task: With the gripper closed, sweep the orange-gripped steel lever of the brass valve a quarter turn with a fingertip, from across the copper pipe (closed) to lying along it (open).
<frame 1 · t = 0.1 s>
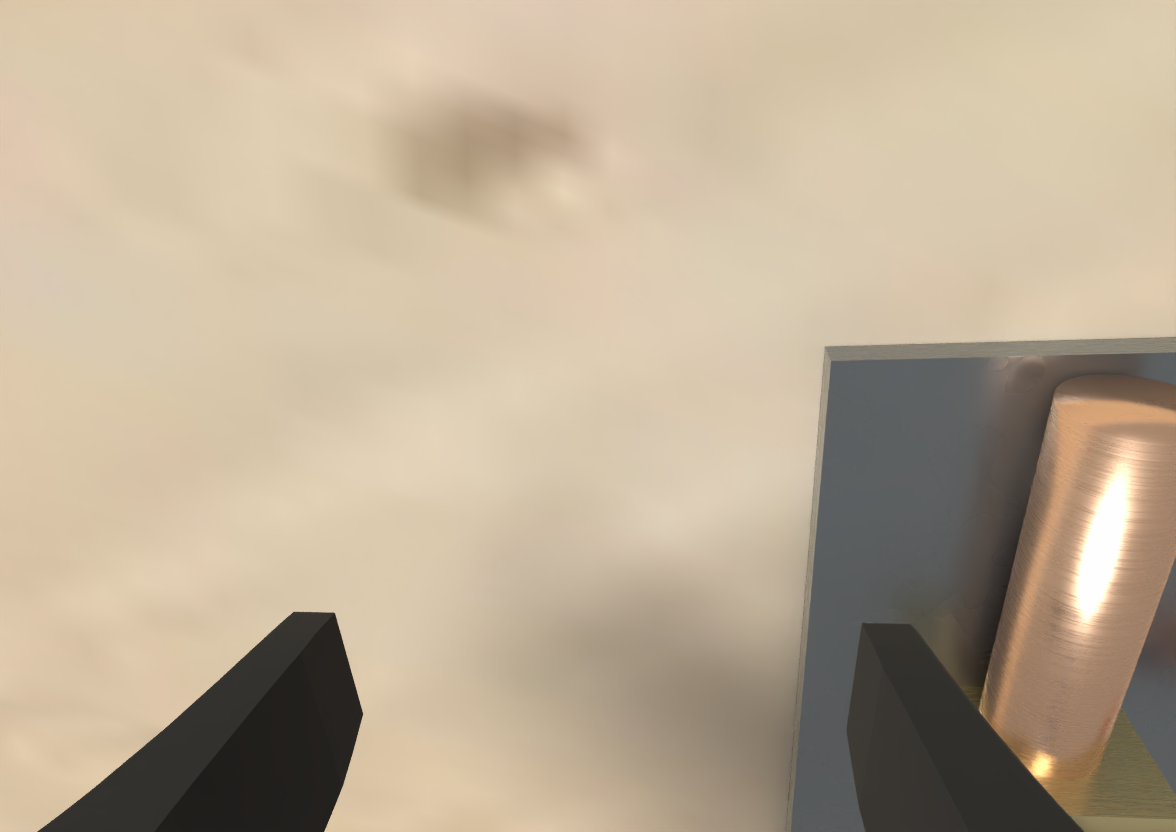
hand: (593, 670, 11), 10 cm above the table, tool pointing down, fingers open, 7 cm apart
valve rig: (992, 724, 25), on the table
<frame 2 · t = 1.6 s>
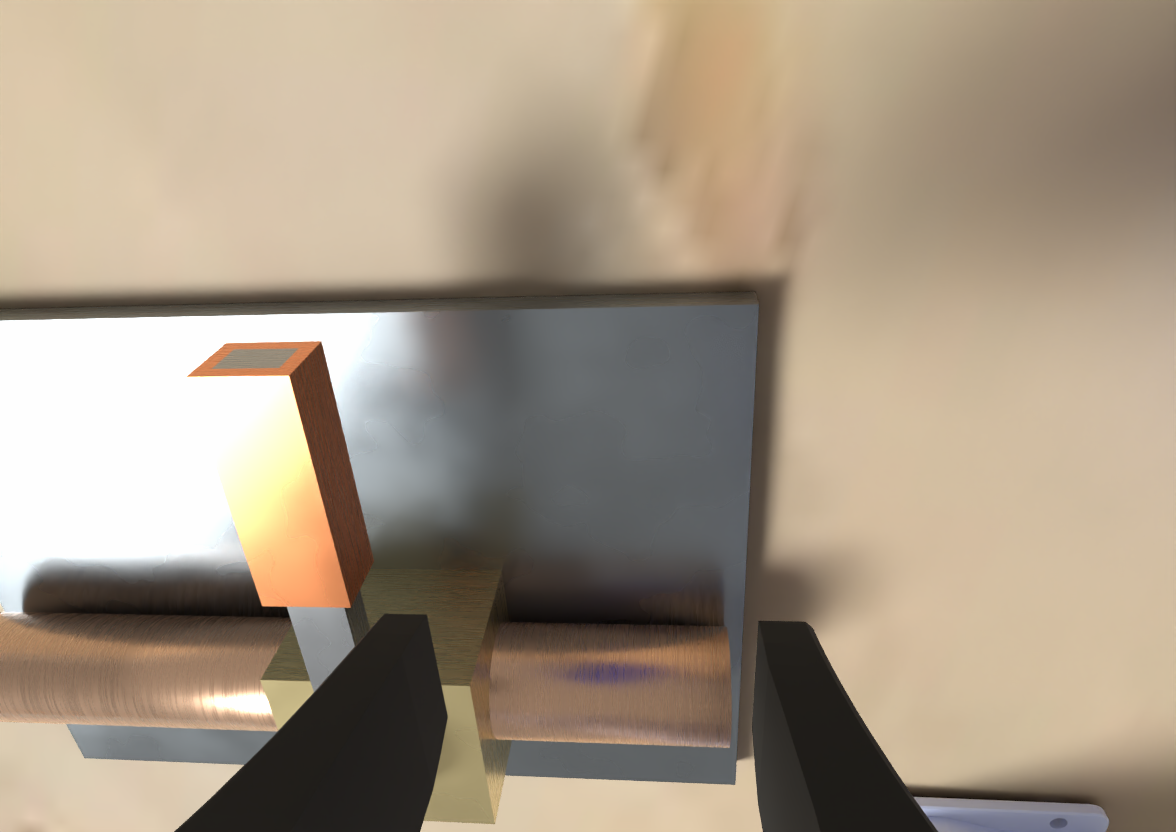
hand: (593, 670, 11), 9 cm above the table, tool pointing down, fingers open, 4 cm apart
valve lever: (331, 623, 17), point 5 cm above the table, hinge at 0.0°
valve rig: (433, 617, 24), on the table
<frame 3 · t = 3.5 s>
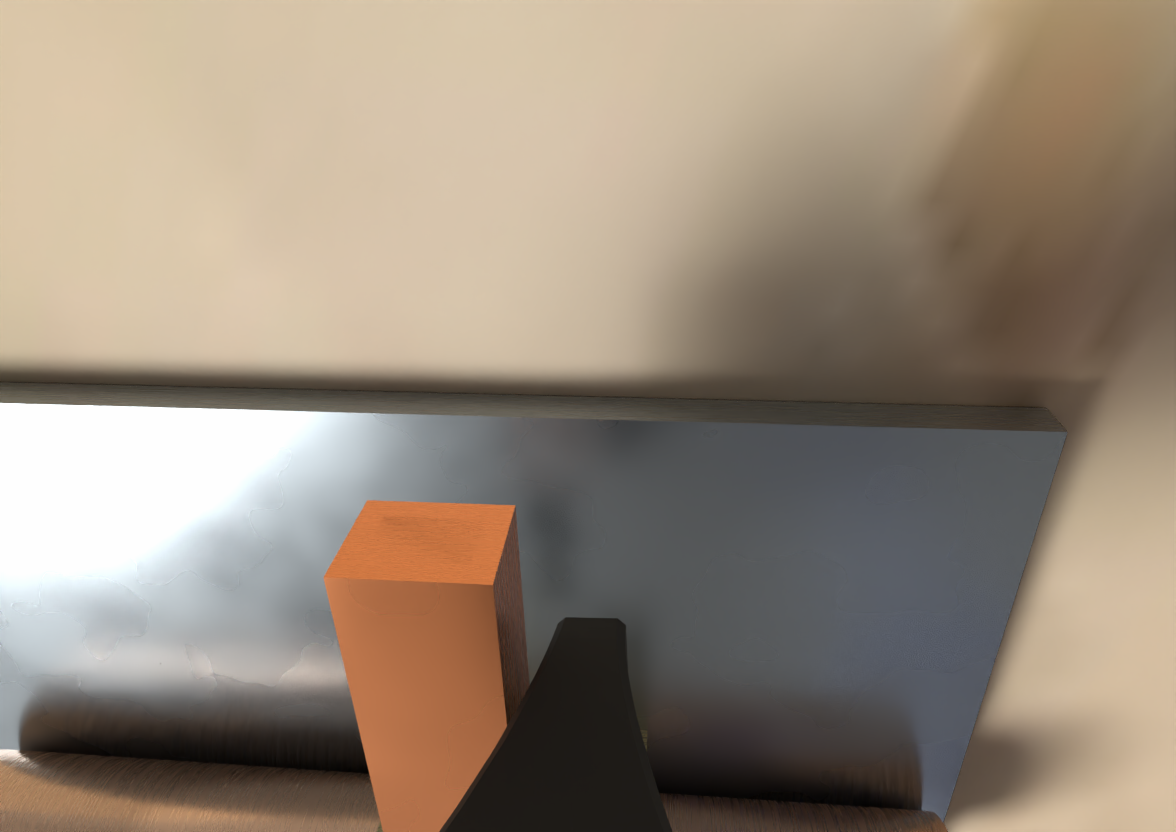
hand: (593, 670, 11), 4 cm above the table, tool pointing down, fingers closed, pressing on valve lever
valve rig: (540, 767, 19), on the table
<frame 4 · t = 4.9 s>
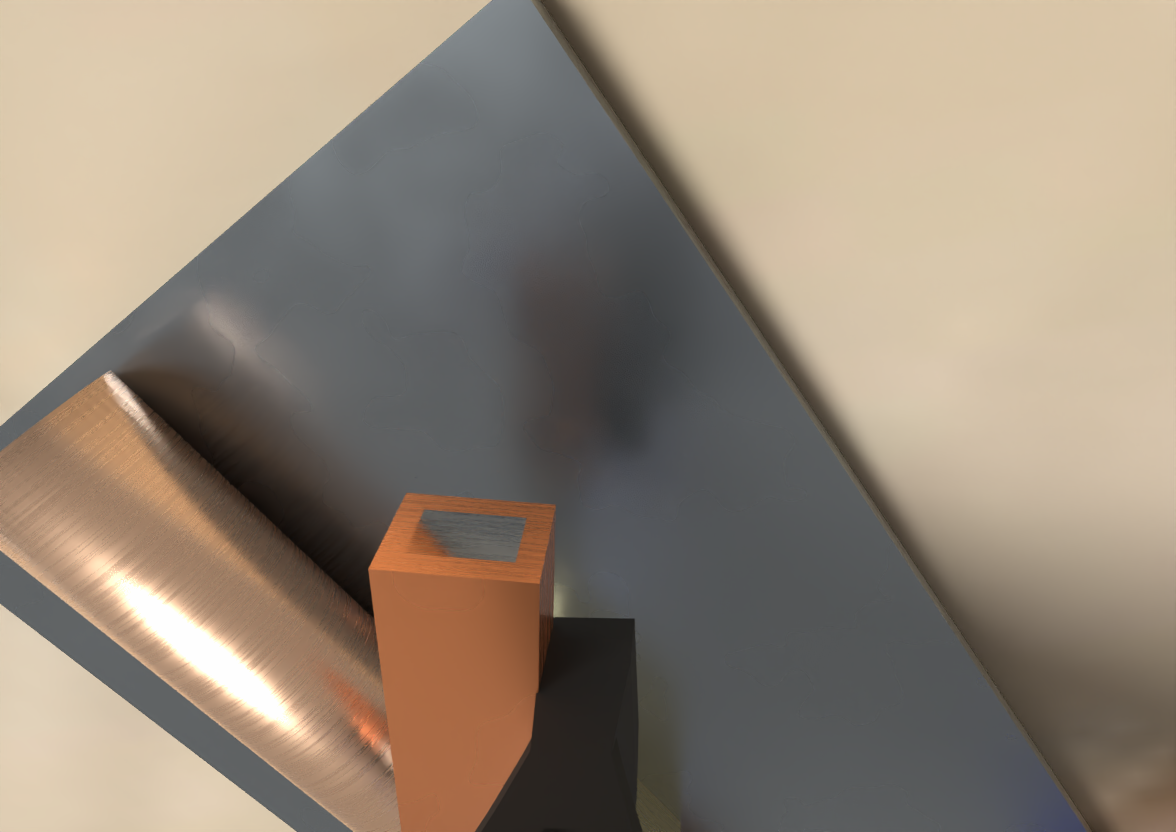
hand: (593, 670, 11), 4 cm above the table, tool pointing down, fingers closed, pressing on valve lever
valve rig: (533, 764, 19), on the table
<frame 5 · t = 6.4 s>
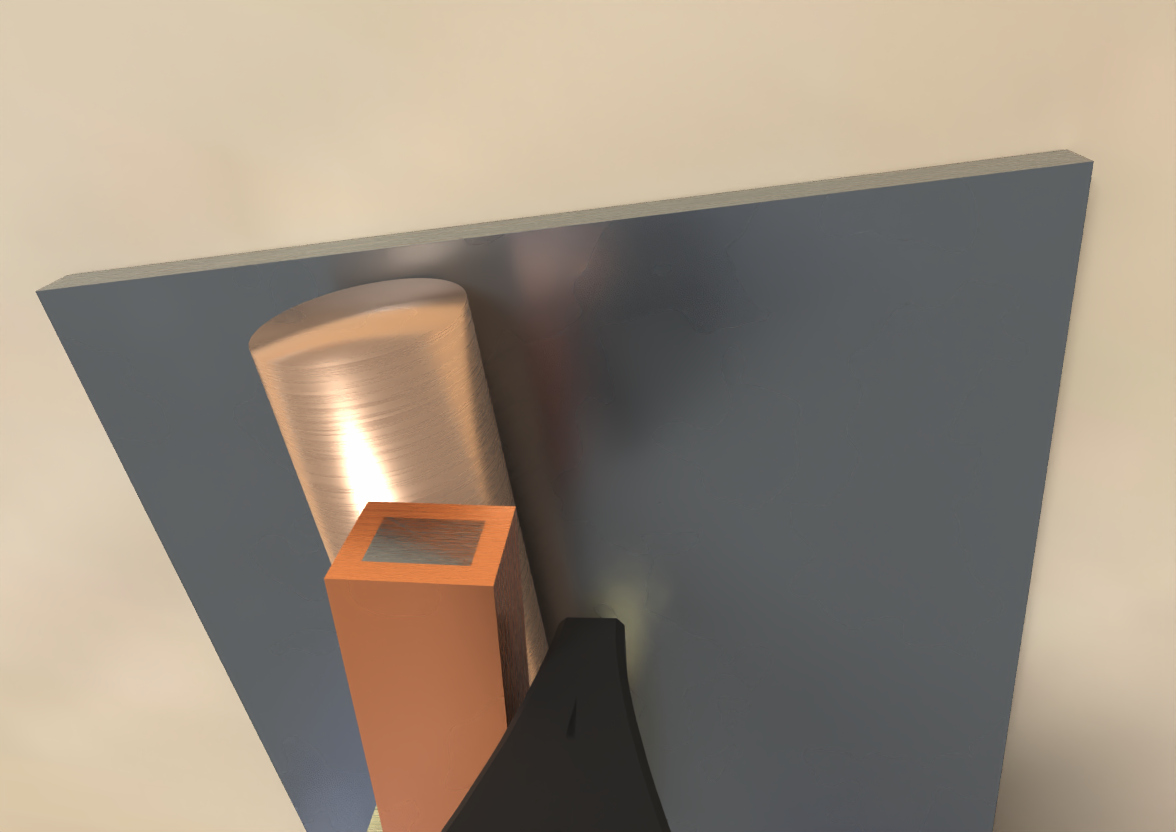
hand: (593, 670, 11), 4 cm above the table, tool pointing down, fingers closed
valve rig: (540, 767, 19), on the table
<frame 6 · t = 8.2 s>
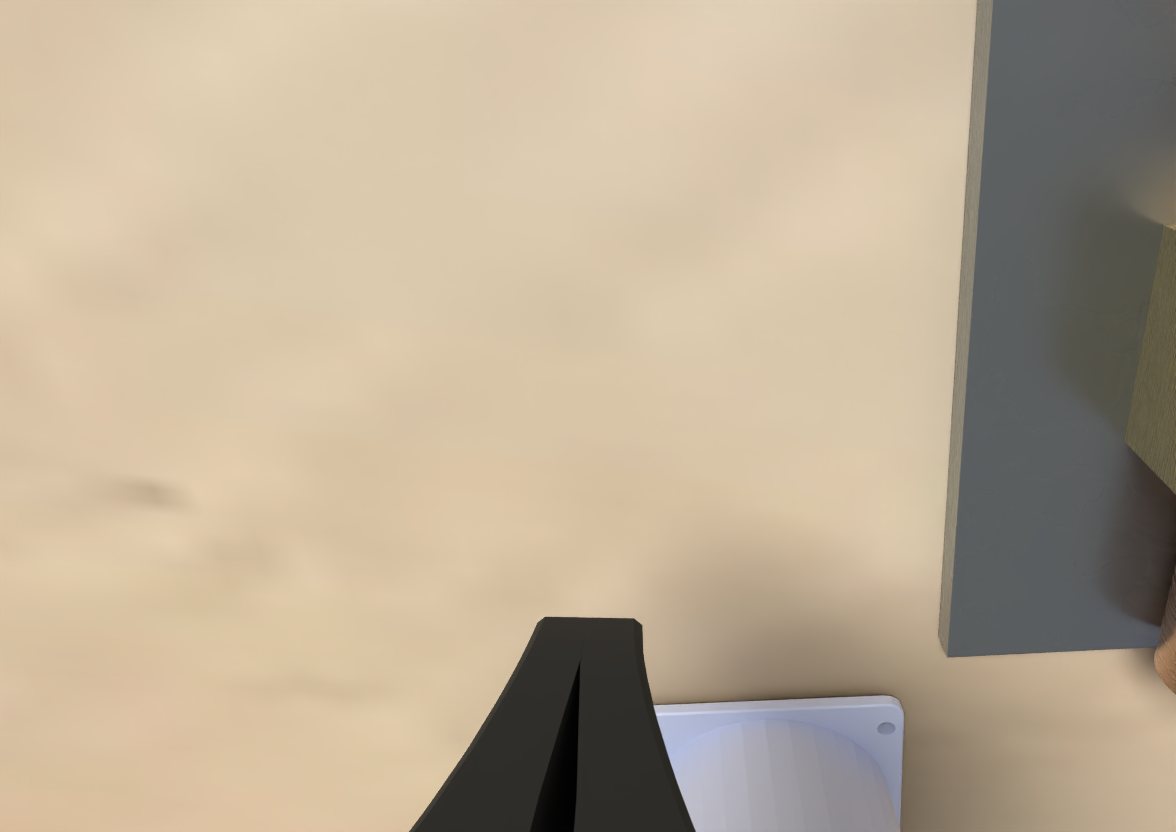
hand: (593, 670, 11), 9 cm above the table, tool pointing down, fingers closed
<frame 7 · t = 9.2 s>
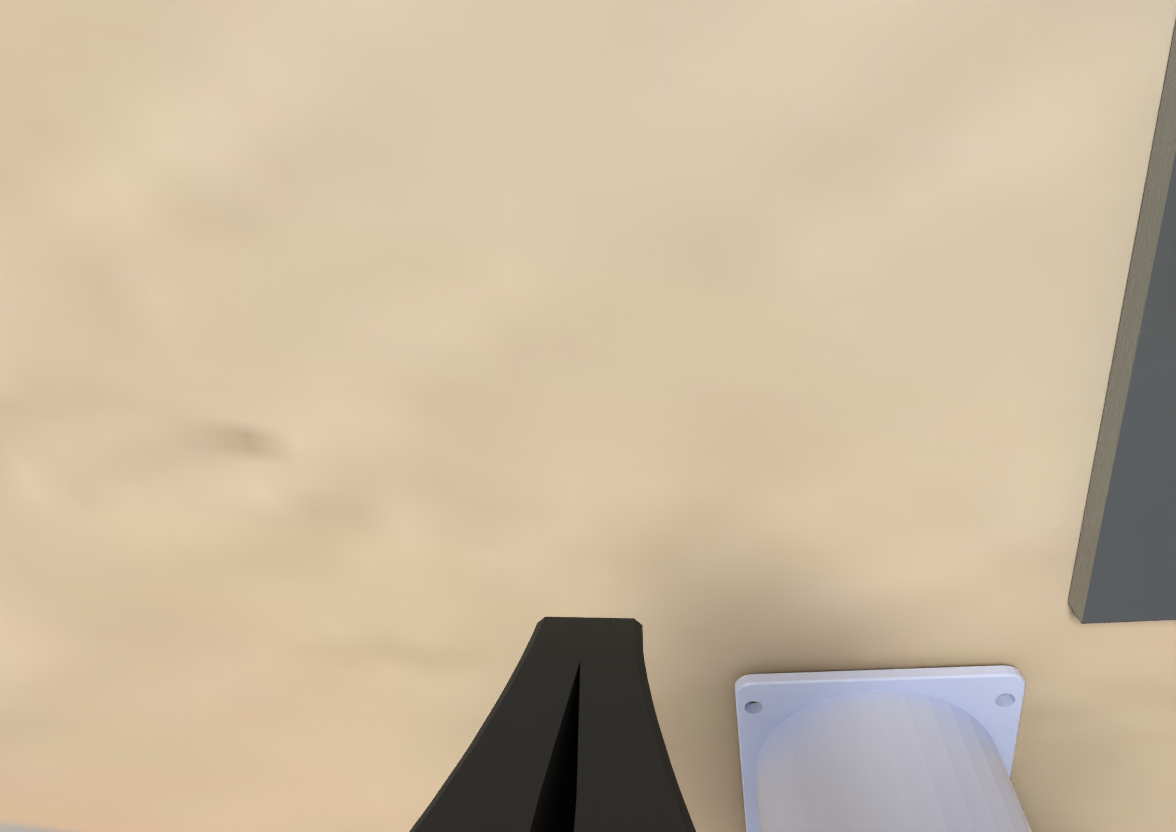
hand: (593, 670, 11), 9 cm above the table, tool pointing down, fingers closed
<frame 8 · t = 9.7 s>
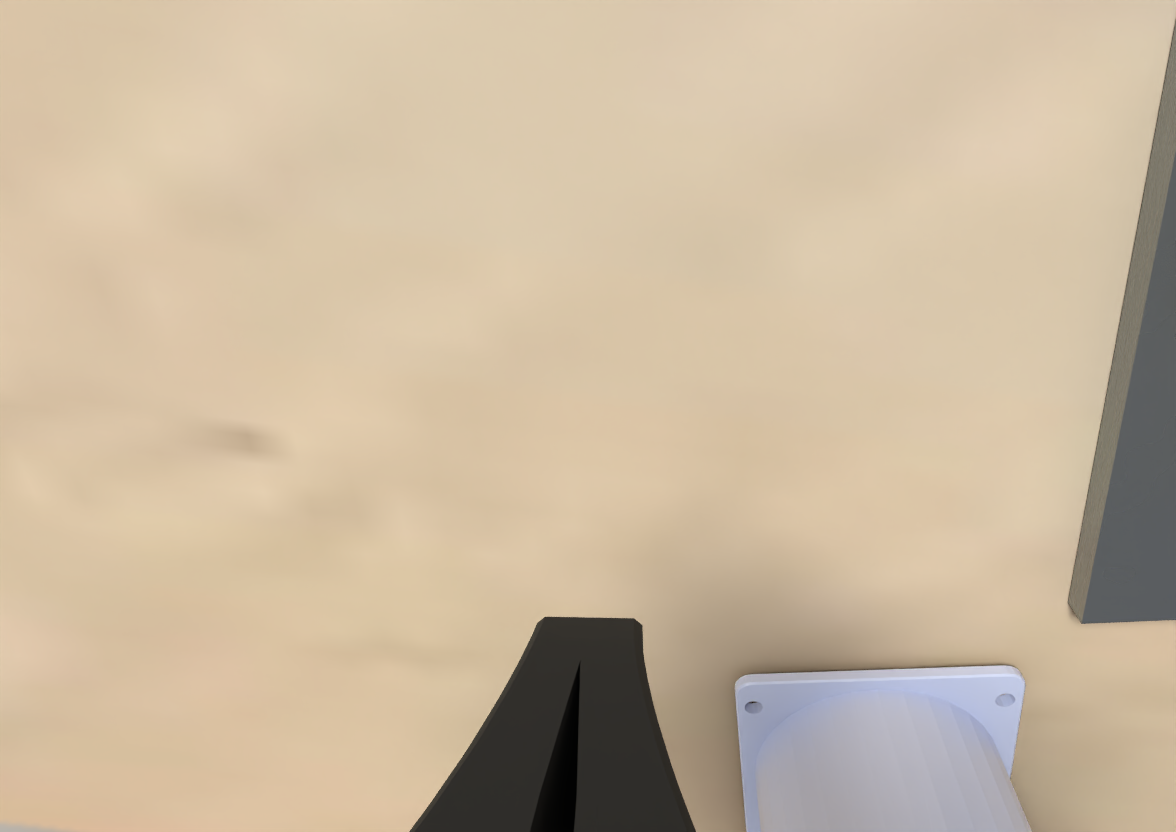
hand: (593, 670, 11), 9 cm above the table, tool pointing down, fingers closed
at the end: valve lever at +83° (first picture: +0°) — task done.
